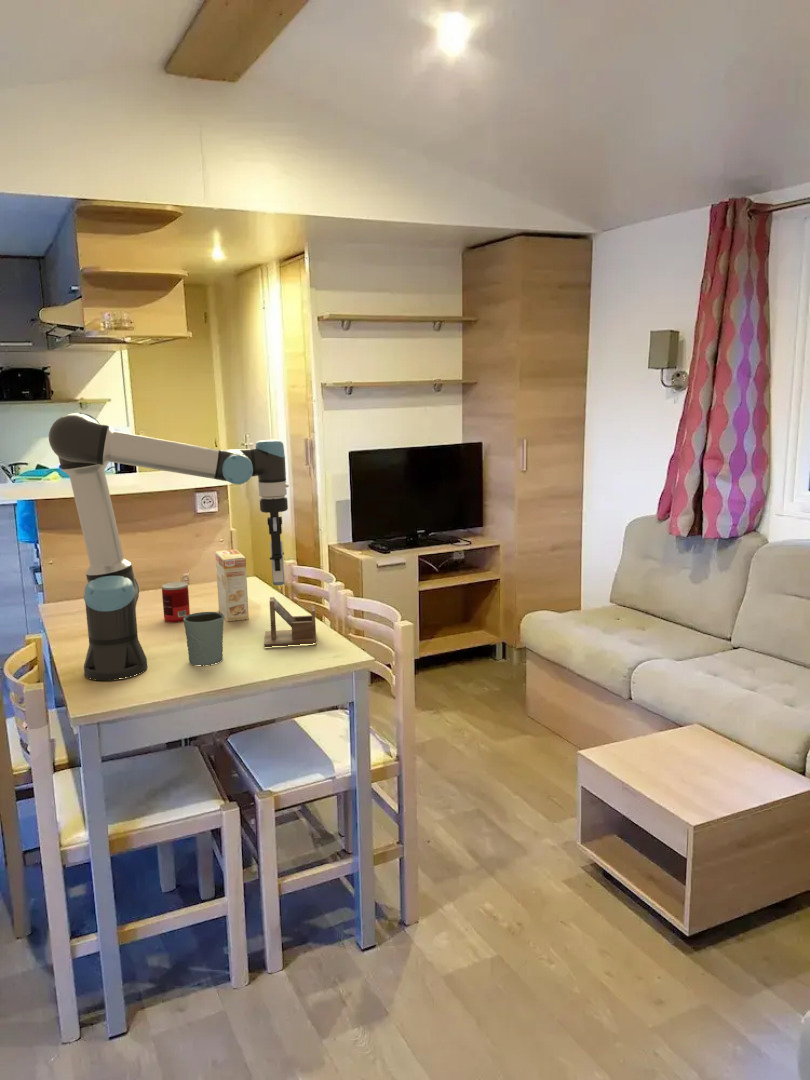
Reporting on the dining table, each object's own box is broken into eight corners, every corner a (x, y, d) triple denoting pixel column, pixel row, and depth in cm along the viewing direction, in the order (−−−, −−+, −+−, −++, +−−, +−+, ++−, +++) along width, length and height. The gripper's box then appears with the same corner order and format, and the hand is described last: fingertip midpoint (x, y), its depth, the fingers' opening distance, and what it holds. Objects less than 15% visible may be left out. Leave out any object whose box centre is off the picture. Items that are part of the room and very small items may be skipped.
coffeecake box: (249, 619, 249) (246, 557, 246) (226, 622, 247) (222, 559, 243) (240, 607, 263) (236, 548, 259) (218, 610, 260) (214, 550, 257)
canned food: (193, 615, 254) (191, 581, 252) (184, 623, 246) (182, 588, 244) (170, 615, 255) (167, 581, 253) (160, 622, 247) (157, 587, 245)
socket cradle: (316, 645, 223) (314, 602, 221) (264, 648, 221) (262, 605, 219) (315, 632, 235) (313, 591, 232) (265, 635, 233) (263, 594, 231)
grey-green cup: (180, 666, 208) (177, 621, 206) (195, 653, 218) (192, 610, 216) (218, 667, 207) (215, 622, 205) (231, 654, 217) (229, 611, 214)
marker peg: (284, 584, 225) (282, 542, 223) (273, 585, 225) (270, 543, 223) (284, 582, 228) (282, 540, 226) (273, 582, 228) (270, 541, 226)
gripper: (287, 500, 215) (292, 586, 219) (286, 492, 230) (291, 572, 235) (258, 501, 213) (264, 588, 218) (260, 493, 229) (265, 574, 234)
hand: (278, 579), depth 226 cm, fingers closed on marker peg, 3 cm apart
